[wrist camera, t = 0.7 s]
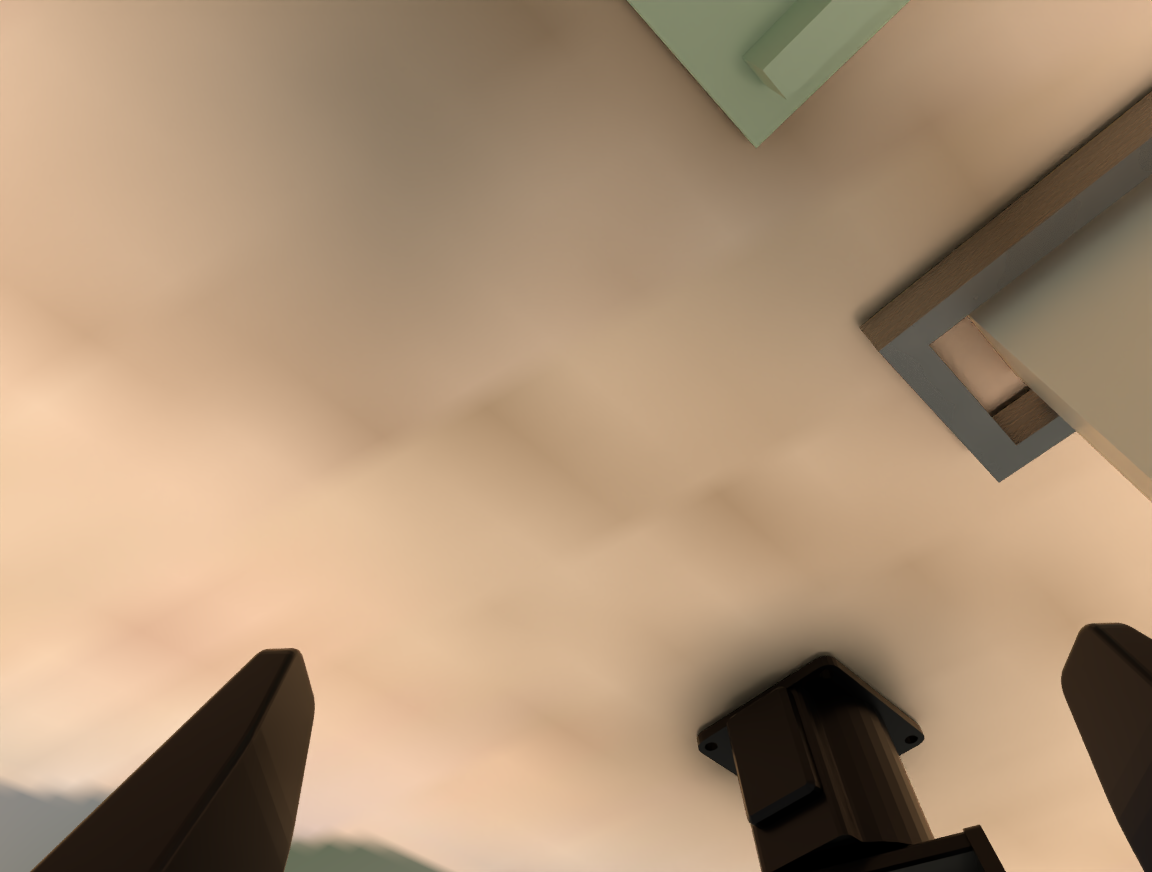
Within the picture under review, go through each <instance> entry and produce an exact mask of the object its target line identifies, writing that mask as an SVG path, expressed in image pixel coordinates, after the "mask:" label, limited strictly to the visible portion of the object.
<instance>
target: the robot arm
mask: <svg viewBox="0 0 1152 872" xmlns="http://www.w3.org/2000/svg"><path fill="white" fill-rule="evenodd" d="M1061 685H1062V690H1063V693H1064V696H1065V699H1066V701H1067V703H1068V706H1069V708H1070V711H1071V713H1072V715H1073V718H1074V720H1075V722H1076V725H1077V727H1078V730H1079V732H1080V734H1081V737H1082V739H1083V742H1084V744H1085V746H1086V749H1087V751H1088V753H1089V756H1090V758H1091V761H1092V763H1093V765H1094V768H1095V770H1096V773H1097V775H1098V777H1099V780H1100V782H1101V784H1102V787H1103V789H1104V792H1105V794H1106V796H1107V799H1108V801H1109V803H1110V805H1111V808H1112V810H1113V812H1114V814H1115V816H1116V818H1117V821H1118V823H1119V825H1120V827H1121V829H1122V831H1123V832H1124V834H1125V836H1126V838H1127V840H1128V842H1129V844H1130V846H1131V848H1132V850H1133V852H1134V853H1135V855H1136V857H1137V859H1138V861H1139V863H1140V865H1141V866H1142V868H1143V870H1144V872H1152V639H1151V638H1149V637H1147V636H1146V635H1144V634H1142V633H1141V632H1139V631H1137V630H1136V629H1134V628H1132V627H1130V626H1128V625H1126V624H1122V623H1093V624H1087V625H1085V626H1084V627H1083V628H1082V629H1081V630H1080V631H1079V633H1078V635H1077V638H1076V640H1075V642H1074V645H1073V647H1072V649H1071V652H1070V654H1069V656H1068V659H1067V661H1066V663H1065V666H1064V668H1063V671H1062V676H1061ZM314 711H315V702H314V695H313V691H312V688H311V684H310V681H309V677H308V674H307V670H306V666H305V663H304V659H303V656H302V654H301V653H300V651H299V650H297V649H294V648H285V649H265V650H262V651H261V652H259V653H258V654H256V655H255V656H254V657H253V658H252V659H251V660H250V661H249V662H248V663H247V664H246V665H245V666H244V667H243V668H242V669H241V670H240V671H239V672H238V673H236V674H235V675H234V676H233V677H232V678H231V679H230V680H229V681H228V682H227V683H226V684H225V685H224V686H223V687H222V688H221V689H220V690H219V691H218V692H217V693H216V694H215V695H214V696H213V697H211V698H210V699H209V700H208V701H207V702H206V703H205V704H204V705H203V706H202V707H201V708H200V709H199V710H198V711H197V712H196V713H195V714H194V715H193V716H192V717H191V718H190V719H189V720H188V721H187V722H185V723H184V724H183V725H182V726H181V727H180V728H179V729H178V730H177V731H176V732H175V733H174V734H173V735H172V736H171V737H170V738H169V739H168V740H167V741H166V742H165V743H164V744H163V745H162V746H161V747H159V748H158V749H157V750H156V751H155V752H154V753H153V754H152V755H151V756H150V757H149V758H148V759H147V760H146V761H145V762H144V763H143V764H142V765H141V766H140V767H139V768H138V769H137V770H136V771H134V772H133V773H132V774H131V775H130V776H129V777H128V778H127V779H126V780H125V781H124V782H123V783H122V784H121V785H120V786H119V787H118V788H117V789H116V790H115V791H114V792H113V793H112V794H111V795H110V796H108V797H107V798H106V799H105V800H104V801H103V802H102V803H101V804H100V805H99V806H98V807H97V808H96V809H95V810H94V811H93V812H92V813H91V814H90V815H89V816H88V817H87V818H86V819H85V820H84V821H82V822H81V823H80V824H79V825H78V826H77V827H76V828H75V829H74V830H73V831H72V832H71V833H70V834H69V835H68V836H67V837H66V838H65V839H64V840H63V841H62V842H61V843H60V844H59V845H57V846H56V847H55V848H54V849H53V850H52V851H51V852H50V853H49V854H48V855H47V856H46V857H45V858H44V859H43V860H42V861H41V862H40V863H39V864H38V865H37V866H36V867H35V868H34V869H32V870H31V871H30V872H284V870H285V866H286V862H287V858H288V854H289V851H290V846H291V841H292V836H293V831H294V826H295V821H296V815H297V810H298V804H299V798H300V793H301V787H302V782H303V776H304V770H305V765H306V759H307V754H308V748H309V742H310V737H311V731H312V726H313V720H314ZM923 740H924V735H923V733H922V730H921V728H920V727H919V725H918V724H917V723H915V722H914V721H913V720H912V719H910V718H909V717H908V716H907V715H905V714H904V713H903V712H902V711H900V710H899V709H898V708H897V707H895V706H894V705H893V704H892V703H890V702H889V701H888V700H887V699H885V698H884V697H883V696H882V695H880V694H879V693H878V692H876V691H875V690H874V689H873V688H871V687H870V686H869V685H868V684H866V683H865V682H864V681H863V680H861V679H860V678H859V677H858V676H856V675H855V674H854V673H853V672H851V671H850V670H849V669H848V668H846V667H845V666H844V665H843V664H841V663H840V662H839V661H838V660H836V659H835V658H833V657H830V656H823V657H819V658H817V659H815V660H814V661H812V662H810V663H809V664H807V665H806V666H804V667H803V668H801V669H799V670H798V671H796V672H795V673H793V674H792V675H790V676H788V677H787V678H785V679H784V680H782V681H781V682H779V683H777V684H776V685H774V686H773V687H771V688H770V689H768V690H766V691H765V692H763V693H762V694H760V695H759V696H757V697H756V698H754V699H752V700H751V701H749V702H748V703H746V704H745V705H743V706H741V707H740V708H738V709H737V710H735V711H734V712H732V713H730V714H729V715H727V716H726V717H724V718H723V719H721V720H719V721H718V722H716V723H715V724H713V725H712V726H710V727H708V728H707V729H705V730H704V731H702V732H701V733H700V734H699V735H698V736H697V742H698V748H699V751H700V752H701V753H703V754H704V755H706V756H707V757H709V758H710V759H712V760H714V761H715V762H717V763H718V764H720V765H721V766H723V767H724V768H726V769H728V770H729V771H731V772H732V773H734V774H735V775H737V776H738V780H739V784H740V789H741V793H742V797H743V802H744V806H745V811H746V815H747V819H748V821H749V823H751V828H752V832H753V837H754V841H755V845H756V850H757V854H758V859H759V863H760V867H761V872H1006V871H1005V870H1004V868H1003V866H1002V864H1001V862H1000V860H999V859H998V857H997V855H996V853H995V851H994V849H993V848H992V846H991V844H990V842H989V840H988V838H987V837H986V835H985V833H984V831H983V829H982V827H981V826H980V825H976V826H972V827H968V828H964V829H963V832H961V833H957V834H953V835H949V836H945V837H941V838H937V839H934V837H933V834H932V832H931V830H930V827H929V825H928V823H927V820H926V818H925V816H924V813H923V811H922V809H921V806H920V804H919V802H918V799H917V797H916V795H915V792H914V790H913V788H912V785H911V783H910V780H909V778H908V776H907V773H906V771H905V769H904V766H903V764H902V762H901V759H900V757H899V756H900V755H901V754H903V753H905V752H907V751H909V750H910V749H912V748H914V747H916V746H918V745H919V744H920V743H922V742H923Z"/></svg>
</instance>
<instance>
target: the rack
mask: <svg viewBox="0 0 1152 872" xmlns="http://www.w3.org/2000/svg"><path fill="white" fill-rule="evenodd" d="M1151 174H1152V91H1151V92H1150V93H1149V94H1148V95H1146V96H1145V97H1144V98H1143V99H1141V100H1140V101H1139V102H1138V103H1136V104H1135V105H1134V106H1133V107H1132V108H1130V109H1129V110H1128V111H1127V112H1125V113H1124V114H1123V115H1122V116H1120V117H1119V118H1118V119H1117V120H1115V121H1114V122H1113V123H1112V124H1110V125H1109V126H1108V127H1107V128H1105V129H1104V130H1103V131H1102V132H1101V133H1099V134H1098V135H1097V136H1096V137H1094V138H1093V139H1092V140H1091V141H1089V142H1088V143H1087V144H1086V145H1084V146H1083V147H1082V148H1081V149H1079V150H1078V151H1077V152H1076V153H1075V154H1073V155H1072V156H1071V157H1070V158H1068V159H1067V160H1066V161H1065V162H1063V163H1062V164H1061V165H1060V166H1058V167H1057V168H1056V169H1055V170H1053V171H1052V172H1051V173H1050V174H1048V175H1047V176H1046V177H1045V178H1044V179H1042V180H1041V181H1040V182H1039V183H1037V184H1036V185H1035V186H1034V187H1032V188H1031V189H1030V190H1029V191H1027V192H1026V193H1025V194H1024V195H1022V196H1021V197H1020V198H1019V199H1017V200H1016V201H1015V202H1014V203H1013V204H1011V205H1010V206H1009V207H1008V208H1006V209H1005V210H1004V211H1003V212H1001V213H1000V214H999V215H998V216H996V217H995V218H994V219H993V220H991V221H990V222H989V223H988V224H986V225H985V226H984V227H983V228H982V229H980V230H979V231H978V232H977V233H975V234H974V235H973V236H972V237H970V238H969V239H968V240H967V241H965V242H964V243H963V244H962V245H960V246H959V247H958V248H957V249H956V250H954V251H953V252H952V253H951V254H949V255H948V256H947V257H946V258H944V259H943V260H942V261H941V262H939V263H938V264H937V265H936V266H934V267H933V268H932V269H931V270H929V271H928V272H927V273H926V274H925V275H923V276H922V277H921V278H920V279H918V280H917V281H916V282H915V283H913V284H912V285H911V286H910V287H908V288H907V289H906V290H905V291H903V292H902V293H901V294H900V295H898V296H897V297H896V298H895V299H894V300H892V301H891V302H890V303H889V304H887V305H886V306H885V307H884V308H882V309H881V310H880V311H879V312H877V313H876V314H875V315H874V316H872V317H871V318H870V319H869V320H868V321H866V322H865V323H864V324H863V325H861V326H860V329H861V330H862V331H863V332H864V334H865V335H866V336H867V337H868V339H869V340H870V341H871V342H872V344H873V345H874V346H875V347H876V349H877V350H878V351H879V352H880V353H881V354H882V356H883V357H884V358H885V359H886V360H887V361H888V362H889V363H890V364H891V365H892V367H893V368H894V369H895V370H896V371H897V372H898V373H899V374H900V375H901V376H902V377H903V379H904V380H905V381H906V382H907V383H908V384H909V385H910V386H911V387H912V388H913V389H914V391H915V392H916V393H917V394H918V395H919V396H920V397H921V398H922V399H923V400H924V401H925V403H926V404H927V405H928V406H929V407H930V408H931V409H932V410H933V411H934V412H935V413H936V415H937V416H938V417H939V418H940V419H941V420H942V421H943V422H944V423H945V424H946V425H947V427H948V428H949V429H950V430H951V431H952V432H953V433H954V434H955V435H956V436H957V437H958V439H959V440H960V441H961V442H962V443H963V444H964V445H965V446H966V447H967V448H968V449H969V451H970V452H971V453H972V454H973V455H974V456H975V457H976V458H977V459H978V460H979V462H980V463H981V464H982V465H983V466H984V467H985V468H986V469H987V470H988V471H989V472H990V474H991V475H992V476H993V477H994V478H995V479H996V480H997V481H998V482H1001V481H1002V480H1004V479H1005V478H1007V477H1008V476H1010V475H1011V474H1013V473H1014V472H1016V471H1017V470H1019V469H1020V468H1022V467H1023V466H1025V465H1026V464H1028V463H1029V462H1031V461H1032V460H1034V459H1035V458H1037V457H1038V456H1040V455H1041V454H1043V453H1044V452H1046V451H1047V450H1049V449H1050V448H1052V447H1053V446H1055V445H1056V444H1058V443H1059V442H1061V441H1062V440H1064V439H1065V438H1067V437H1068V436H1070V435H1071V434H1073V433H1074V432H1076V431H1075V430H1074V429H1073V428H1072V427H1071V426H1070V425H1069V424H1068V423H1067V422H1066V421H1065V420H1064V419H1063V418H1061V417H1060V416H1059V415H1058V414H1057V413H1056V412H1055V411H1054V410H1053V409H1052V408H1051V407H1050V406H1049V405H1048V404H1047V403H1045V402H1044V401H1043V400H1042V399H1041V398H1040V397H1039V396H1038V395H1037V394H1036V393H1035V392H1034V391H1033V390H1032V389H1031V390H1030V391H1028V392H1027V393H1025V394H1024V395H1023V396H1021V397H1020V398H1018V399H1017V400H1016V401H1014V402H1013V403H1011V404H1010V405H1008V406H1007V407H1006V408H1004V409H1003V410H1001V411H1000V412H999V413H997V414H996V415H994V416H993V417H991V416H990V415H989V414H988V412H987V411H986V410H985V409H984V408H983V407H982V406H981V404H980V403H979V402H978V401H977V400H976V399H975V398H974V396H973V395H972V394H971V393H970V392H969V391H968V390H967V388H966V387H965V386H964V385H963V384H962V383H961V381H960V380H959V379H958V378H957V377H956V376H955V375H954V373H953V372H952V371H951V370H950V369H949V368H948V367H947V365H946V364H945V363H944V362H943V361H942V360H941V359H940V357H939V356H938V355H937V354H936V353H935V352H934V351H933V349H932V348H931V347H930V346H929V345H930V344H931V343H932V342H934V341H935V340H936V339H937V338H939V337H940V336H941V335H943V334H944V333H945V332H947V331H948V330H949V329H951V328H952V327H953V326H954V325H956V324H957V323H958V322H960V321H961V320H962V319H964V318H965V317H966V316H967V315H969V314H970V313H971V312H973V311H974V310H975V309H977V308H978V307H979V306H980V305H982V304H983V303H984V302H986V301H987V300H988V299H990V298H991V297H992V296H994V295H995V294H996V293H997V292H999V291H1000V290H1001V289H1003V288H1004V287H1005V286H1007V285H1008V284H1009V283H1010V282H1012V281H1013V280H1014V279H1016V278H1017V277H1018V276H1020V275H1021V274H1022V273H1024V272H1025V271H1026V270H1027V269H1029V268H1030V267H1031V266H1033V265H1034V264H1035V263H1037V262H1038V261H1039V260H1040V259H1042V258H1043V257H1044V256H1046V255H1047V254H1048V253H1050V252H1051V251H1052V250H1053V249H1055V248H1056V247H1057V246H1059V245H1060V244H1061V243H1063V242H1064V241H1065V240H1067V239H1068V238H1069V237H1070V236H1072V235H1073V234H1074V233H1076V232H1077V231H1078V230H1080V229H1081V228H1082V227H1083V226H1085V225H1086V224H1087V223H1089V222H1090V221H1091V220H1093V219H1094V218H1095V217H1097V216H1098V215H1099V214H1100V213H1102V212H1103V211H1104V210H1106V209H1107V208H1108V207H1110V206H1111V205H1112V204H1113V203H1115V202H1116V201H1117V200H1119V199H1120V198H1121V197H1123V196H1124V195H1125V194H1126V193H1128V192H1129V191H1130V190H1132V189H1133V188H1134V187H1136V186H1137V185H1138V184H1140V183H1141V182H1142V181H1143V180H1145V179H1146V178H1147V177H1149V176H1150V175H1151Z"/></svg>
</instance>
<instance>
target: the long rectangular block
mask: <svg viewBox="0 0 1152 872" xmlns="http://www.w3.org/2000/svg"><path fill="white" fill-rule="evenodd" d="M967 316H968V317H969V318H970V320H971V321H972V322H973V323H974V325H975V326H976V327H977V328H978V329H979V331H980V332H981V333H982V334H983V335H984V337H985V338H986V339H987V340H988V342H989V343H990V344H991V345H992V346H993V348H994V349H995V350H996V351H997V352H998V354H999V355H1000V356H1001V357H1002V359H1003V360H1004V361H1005V362H1006V363H1007V365H1008V366H1009V367H1010V368H1011V370H1012V371H1013V372H1014V373H1015V374H1016V375H1017V376H1018V377H1019V378H1020V379H1021V380H1022V381H1023V382H1024V383H1025V384H1026V385H1027V386H1028V387H1029V388H1031V389H1032V390H1033V391H1034V392H1035V393H1036V394H1037V395H1038V396H1039V397H1040V398H1041V399H1042V400H1043V401H1044V402H1045V403H1047V404H1048V405H1049V406H1050V407H1051V408H1052V409H1053V410H1054V411H1055V412H1056V413H1057V414H1058V415H1059V416H1060V417H1061V418H1063V419H1064V420H1065V421H1066V422H1067V423H1068V424H1069V425H1070V426H1071V427H1072V428H1073V429H1074V430H1075V431H1076V432H1077V433H1078V434H1080V435H1081V436H1082V437H1083V438H1084V439H1085V440H1086V441H1087V442H1088V443H1089V444H1090V445H1091V446H1092V447H1093V448H1094V449H1096V450H1097V451H1098V452H1099V453H1100V454H1101V455H1102V456H1103V457H1104V458H1105V459H1106V460H1107V461H1108V462H1109V463H1110V464H1111V465H1113V466H1114V467H1115V468H1116V469H1117V470H1118V471H1119V472H1120V473H1121V474H1122V475H1123V476H1124V477H1125V478H1126V479H1127V480H1129V481H1130V482H1131V483H1132V484H1133V485H1134V486H1135V487H1136V488H1137V489H1138V490H1139V491H1140V492H1141V493H1142V494H1143V495H1144V496H1146V497H1147V498H1148V499H1149V500H1150V501H1151V502H1152V174H1151V175H1150V176H1149V177H1147V178H1146V179H1145V180H1143V181H1142V182H1141V183H1140V184H1138V185H1137V186H1136V187H1134V188H1133V189H1132V190H1130V191H1129V192H1128V193H1126V194H1125V195H1124V196H1123V197H1121V198H1120V199H1119V200H1117V201H1116V202H1115V203H1113V204H1112V205H1111V206H1110V207H1108V208H1107V209H1106V210H1104V211H1103V212H1102V213H1100V214H1099V215H1098V216H1097V217H1095V218H1094V219H1093V220H1091V221H1090V222H1089V223H1087V224H1086V225H1085V226H1083V227H1082V228H1081V229H1080V230H1078V231H1077V232H1076V233H1074V234H1073V235H1072V236H1070V237H1069V238H1068V239H1067V240H1065V241H1064V242H1063V243H1061V244H1060V245H1059V246H1057V247H1056V248H1055V249H1053V250H1052V251H1051V252H1050V253H1048V254H1047V255H1046V256H1044V257H1043V258H1042V259H1040V260H1039V261H1038V262H1037V263H1035V264H1034V265H1033V266H1031V267H1030V268H1029V269H1027V270H1026V271H1025V272H1024V273H1022V274H1021V275H1020V276H1018V277H1017V278H1016V279H1014V280H1013V281H1012V282H1010V283H1009V284H1008V285H1007V286H1005V287H1004V288H1003V289H1001V290H1000V291H999V292H997V293H996V294H995V295H994V296H992V297H991V298H990V299H988V300H987V301H986V302H984V303H983V304H982V305H980V306H979V307H978V308H977V309H975V310H974V311H973V312H971V313H970V314H969V315H967Z"/></svg>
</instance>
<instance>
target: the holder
mask: <svg viewBox="0 0 1152 872" xmlns="http://www.w3.org/2000/svg"><path fill="white" fill-rule="evenodd" d="M627 1H628V3H629V4H630V5H631V6H632V7H633V8H634V9H635V11H636V12H637V13H638V14H639V15H640V16H641V17H642V19H643V20H644V21H645V22H646V23H647V24H648V26H649V27H650V28H651V29H652V30H653V31H654V32H655V34H656V35H657V36H658V37H659V38H660V39H661V40H662V42H663V43H664V44H665V45H666V46H667V47H668V48H669V50H670V51H671V52H672V53H673V54H674V55H675V56H676V58H677V59H678V60H679V61H680V62H681V63H682V64H683V66H684V67H685V68H686V69H687V70H688V71H689V72H690V74H691V75H692V76H693V77H694V78H695V79H696V81H697V82H698V83H699V84H700V85H701V86H702V87H703V89H704V90H705V91H706V92H707V93H708V94H709V95H710V97H711V98H712V99H713V100H714V101H715V102H716V103H717V105H718V106H719V107H720V108H721V109H722V110H723V111H724V113H725V114H726V115H727V116H728V117H729V118H730V119H731V121H732V122H733V123H734V124H735V125H736V126H737V127H738V129H739V130H740V131H741V132H742V133H743V134H744V136H745V137H746V138H747V139H748V140H749V141H750V142H751V143H752V144H753V145H754V146H755V148H757V147H758V146H759V145H760V144H761V143H762V142H763V141H764V140H765V139H766V138H768V137H769V136H770V135H771V134H772V133H773V132H774V131H775V130H776V129H777V128H778V127H779V126H780V125H781V124H782V123H783V122H784V121H785V120H786V119H787V118H788V117H789V116H790V115H791V114H792V113H794V112H795V111H796V110H797V109H798V108H799V107H800V106H801V105H802V104H803V103H804V102H805V101H806V100H807V99H808V98H809V97H810V96H811V95H812V94H813V93H814V92H815V91H816V90H817V89H819V88H820V87H821V86H822V85H823V84H824V83H825V82H826V81H827V80H828V79H829V78H830V77H831V76H832V75H833V74H834V73H835V72H836V71H837V70H838V69H839V68H840V67H841V66H842V65H843V64H845V63H846V62H847V61H848V60H849V59H850V58H851V57H852V56H853V55H854V54H855V53H856V52H857V51H858V50H859V49H860V48H861V47H862V46H863V45H864V44H865V43H866V42H867V41H868V40H869V39H871V38H872V37H873V36H874V35H875V34H876V33H877V32H878V31H879V30H880V29H881V28H882V27H883V26H884V25H885V24H886V23H887V22H888V21H889V20H890V19H891V18H892V17H893V16H894V15H895V14H897V13H898V12H899V11H900V10H901V9H902V8H903V7H904V6H905V5H906V4H907V3H908V2H909V1H910V0H627Z"/></svg>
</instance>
